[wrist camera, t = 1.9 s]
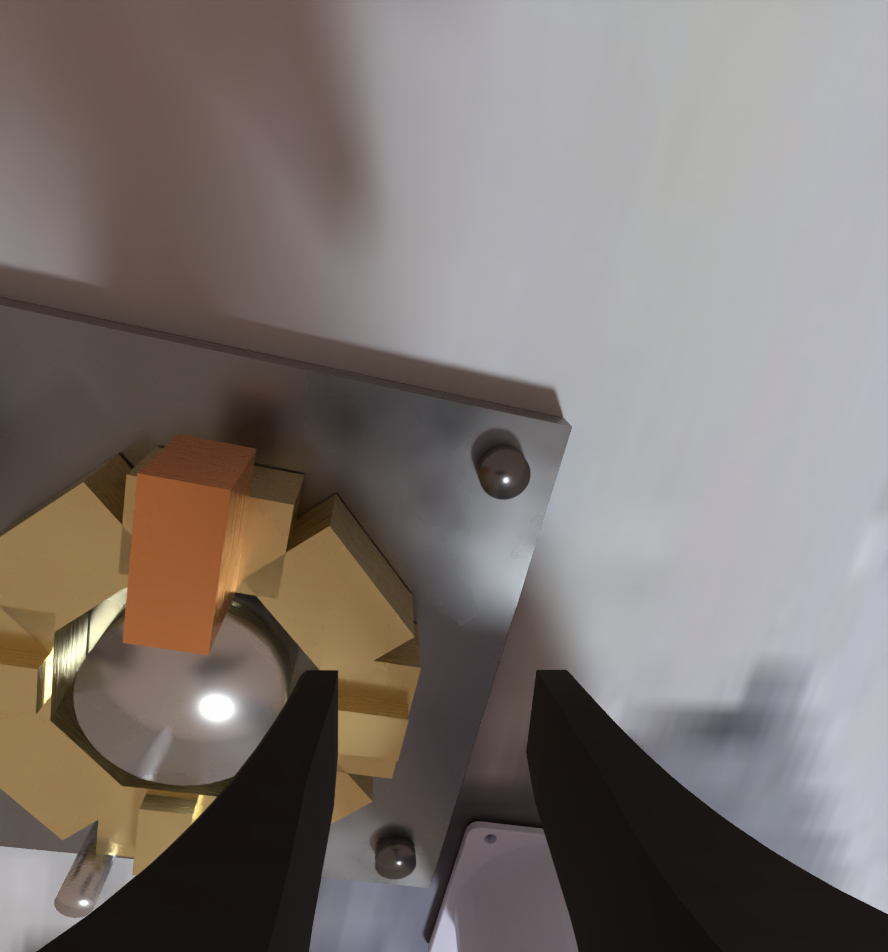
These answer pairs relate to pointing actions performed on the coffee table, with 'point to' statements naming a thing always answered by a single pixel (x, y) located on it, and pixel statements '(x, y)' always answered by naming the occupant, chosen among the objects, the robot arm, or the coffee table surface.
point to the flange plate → (336, 456)
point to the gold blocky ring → (188, 625)
